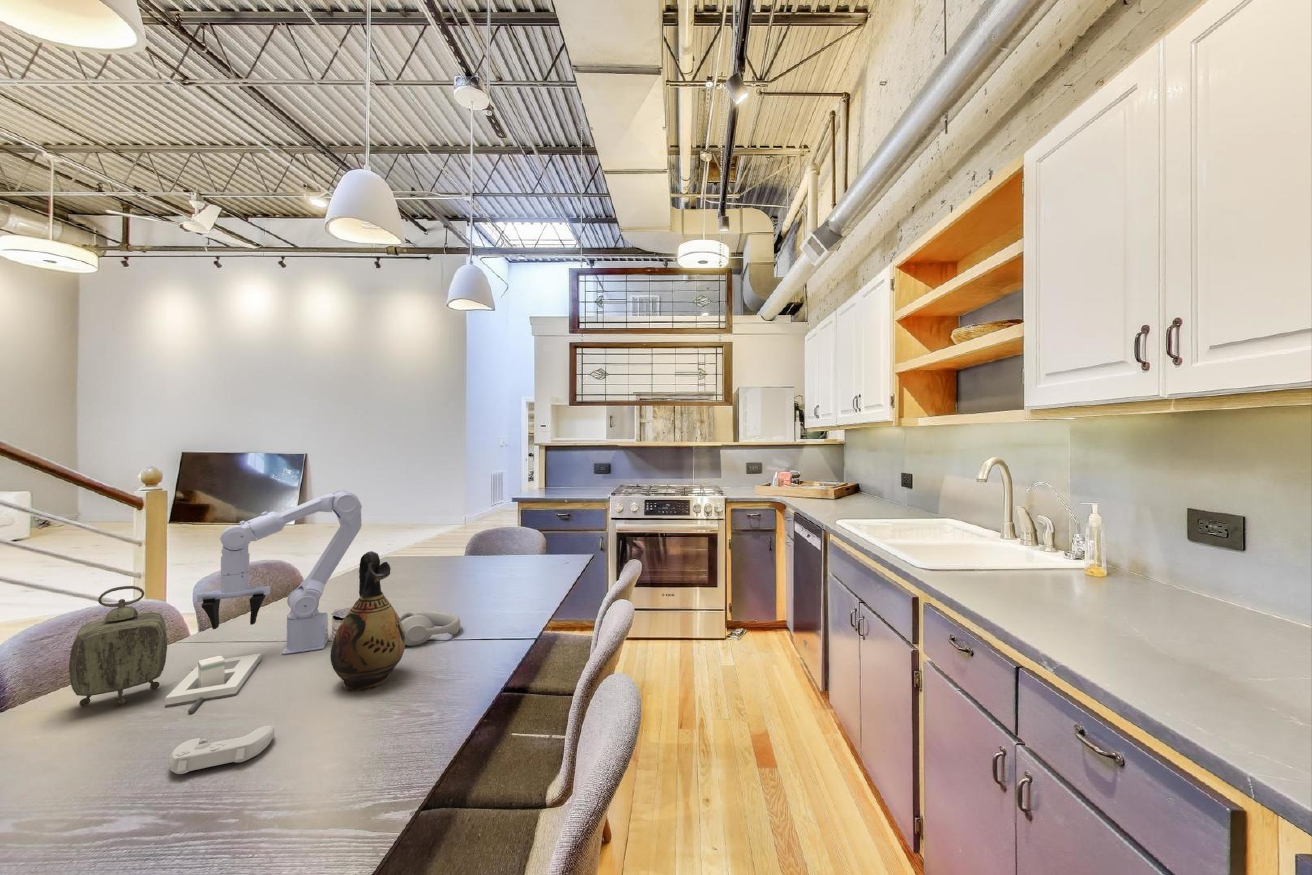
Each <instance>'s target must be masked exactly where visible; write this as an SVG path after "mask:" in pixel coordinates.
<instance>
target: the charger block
mask: <svg viewBox="0 0 1312 875" xmlns="http://www.w3.org/2000/svg"><path fill="white" fill-rule="evenodd" d="M224 659H225V658H224V657H223V656H222V655H217V656H212V657H209V658H205V659H199V660H198V661H197V666H198V688H204V687H210V686H216V685H222V684H224V666H225V660H224Z"/></svg>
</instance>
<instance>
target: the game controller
mask: <svg viewBox="0 0 1312 875" xmlns="http://www.w3.org/2000/svg"><path fill="white" fill-rule="evenodd" d="M275 733H276V732H275V727H274V726H273V725H269V724H268V725H263V726H259V727H258V728H256V729H254V730H252V731H251V732H249V733H248V734H246V735H243V736H240V737H234V738H230V739H228V738H227V739H224V740H219V741H213V742H209V741H208V738H203V739H202V738H201V737H197V738H193V739H188V740H186V741H184V742H182V743H180V744H178V745H177V746H176V747H175V748H174V749H173V751H172V752H171V754H170V756H169V760H168V766H169V767H168V768H169V769H170V771H171V772H172V773H175V774H177V775H183V774H186V773H188V772H192V771H193V772H194V771H196V770H201V769H205V768H210V767H211V768H212V767H215V766H220V765H225V764H229V763H230V764H231V763H243V762H246V761H248V760H251V759H253V758H254V757H256V756H258V755H259V754H261V753H262V751H264V750H265V749H266V748H267V747H268V746H269V745H270V743H272V740H273V738H274V737H275Z"/></svg>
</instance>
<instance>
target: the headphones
mask: <svg viewBox="0 0 1312 875" xmlns="http://www.w3.org/2000/svg"><path fill="white" fill-rule="evenodd" d="M396 613H397V614H398V616H399V617H400V620H401V623H402V625H403V629H404V632H405V634H404V636H405V646H409V647H410V646H411V647H413V646H414V647H415V646H420V645H422V644H424V643H426V642H427V641H428V640H429V639H430V638H431V637H432V636H433V635H440V634H441V635H442V634H449V635H451V636H452V635H453V636H454V635H457V633H458V632H459V631H460V628H461V619H460V617H459V616H457V615H455V614H452V613H449V612H442V611H433V610H424V611H418V612H416V613H412V612H411V611H405V610H403V611H402V610H401V611H397V612H396ZM435 626H439V627H435Z"/></svg>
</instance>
